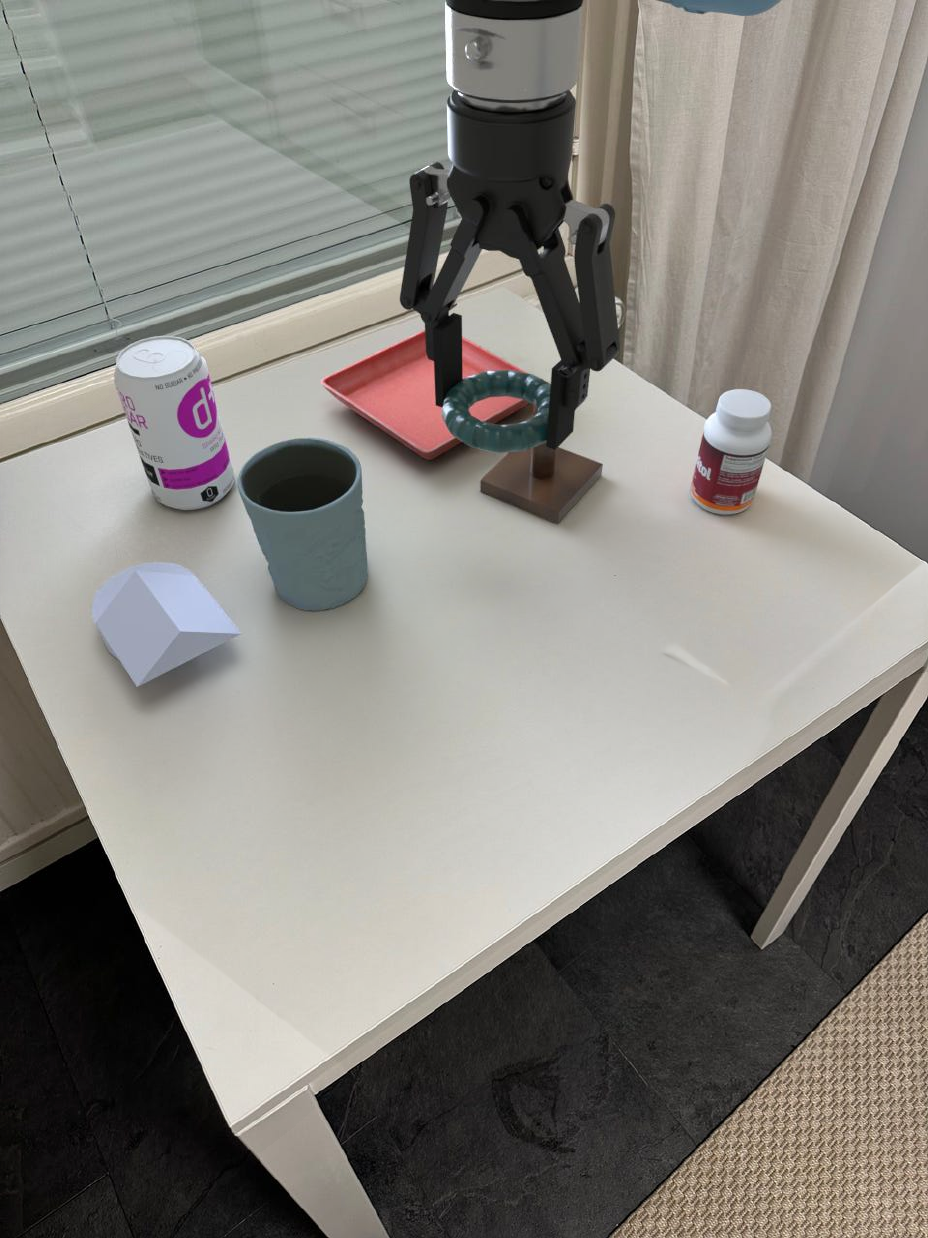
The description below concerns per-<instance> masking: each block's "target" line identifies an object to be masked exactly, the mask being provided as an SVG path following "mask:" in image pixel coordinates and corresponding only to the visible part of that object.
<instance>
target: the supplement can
mask: <svg viewBox="0 0 928 1238" xmlns="http://www.w3.org/2000/svg"><path fill="white" fill-rule="evenodd" d="M115 360H116V361H115V363H116V365H115V370H114V373H113V376H114V377H113V379H114V381H113V383H114V385H115V388H116V391H117V395H118V397H119V399H120V400H119V401H120V403H121V406H122V409H123V411H124V415H125V417H126V420H127V423H128V426H129V429H130V432H131V435H132V438H133V441H134V443H135V446H136V449H137V452H138V455H139V458H140V461H141V463H142V467H143V470H144V472H145V473H144V474H145V475H146V478H147V481H148V485H149V486H150V487H149V488H150V490H151V492H152V494H153V496H154V497H155V499H156V500H157V502H159V503H161V504H163V505H165V506H166V507H170V508H173V509H175V510H182V511H195V510H200V509H201V510H202V509H204V508H207V507H210V506H212V505H214V504H216V503H217V502H219V501H221V500H222V499H223V498H224V497H225V496H226V495H227V494H228V492H229V491H230V490H231V489H232V488H233V485H234V482H235V480H236V479H235V472H234V468H233V463H232V459H231V455H230V451H229V448H228V444H227V439H226V436H225V433H224V428H223V424H222V420H221V416H220V412H219V409H218V404H217V400H216V396H215V392H214V389H213V385H212V381H211V376H210V373H209V369H208V365H207V361H206V359H205V358H204V357H203V356H202V355H201V354H200V353H199V352H198V351H197V350H196V347H195V346H194V344H192V342H191V341H190V340H187V339H186V338H183V337H180V336H171V335H160V336H152V337H146V338H143V339H140V340H137V341H135V342H133V343H130V344H129V345H127V346H126V347H124V348H123V349H122V350H120V352H119V353H118V355H117V356H116V359H115Z"/></svg>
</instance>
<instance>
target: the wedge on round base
mask: <svg viewBox="0 0 928 1238" xmlns="http://www.w3.org/2000/svg"><path fill="white" fill-rule="evenodd" d="M90 608H91V610H90V611H91V616H92V620H93V622H94V624H95V626H96V628H97V630H98V633H99V635H100V637H101V639H102V641H103V643H104V645H105V647H106V649H107V651H108V652H109V653H110V654H111V655H112V656H113V658H116V659H117V660H119V661H120V663H121V665H122V666H123V668H124V670H125V671H126V672H127V674H128V676H129V677H130V678H131V680H132V682H133V683H134V685H135V687H136V688H139V687H140V686H142V685H144V684H146V683H148V682H150V681H152V680H154V679H156V678H158V677H159V676H162V675H163V674H165V673H168V672H169V671H171V670H173V669H175V668H177V667H179V666H181V665H183V664H185V663H187V662H189V661H191V660H193V659H195V658H197V657H198V656H201V655H203V654H205V653H206V652H209V651H211V650H212V649H215V648H216V647H219V646H220V645H222V644H225V643H226V642H228V641H230V640H232V639H234V638H236V637H238V636H240V635H242V632H241V631H240V630H239V629H238V627H237V626H236V625H235V624H234V622H233V621H232V620H231V618H230V617H229V616H228V615H227V613H226V612H225V611H224V609H223V608H222V607H221V606H220V605H219V603H218V602H217V601H216V600H215V598H214V597H213V596H212V594H210V592H209V591H208V589H207V588H206V587H205V586H204V584H202V582H201V581H200V580H199V579H198V577H197V575H195V574H194V573H193V572H192V571H191V570H189V569H188V568H186V567H185V566H183V565H180V564H176V563H173V562H166V561H154V562H145V563H141V564H136V565H133V566H129V567H128V568H126V569H123V570H121V571H119V572H118V573H116V574H113V576H112V577H110V578H109V579H107V580H106V581H105V582H104V583H103V584H102V585H101V586H100V587H99V588H98V590H97V592H96V593H95V595H94V597H93V599H92V602H91V607H90Z"/></svg>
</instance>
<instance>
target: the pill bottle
mask: <svg viewBox="0 0 928 1238" xmlns="http://www.w3.org/2000/svg"><path fill="white" fill-rule="evenodd" d="M771 412H772V403H771V401H770V400H769V399H768V397H767V396H765V395H764V394H762V393H760V392H758V391H755V390H750V389H746V388H736V389H731V390H730V389H729V390H727V391H725V392H723V393H722V394H721V395H720V396H719V399H718V402H717V405H716V407H715V411H714V412H713V413H712V414H710V416H709V417H707V419H706V421H705V422H704V427H703V429H702V435H701V438H700V444H699V448H698V451H697V452H698V453H697V458H696V462H695V466H694V471H693V476H692V480H691V485H690V494H691V498H692V499H693V501H694V502H695V503H696V504H697V505H698V506H699V507H700V508H702V509H703V510H705V511H708V512H709V513H712V514H716V515H735V514H739V513H742V512H744V511H745V510H747V509H749V507H750V506H751V505H752V503H753V501H754V499H755V496H756V491H757V489H758V485H759V483H760V482H759V481H760V478H761V476H762V471H763V468H764V464H765V461H766V458H767V454H768V450H769V448H770V444H771V440H772V436H773V434H772V433H773V431H772V426H771V425H770V423H769V419H770V416H771Z"/></svg>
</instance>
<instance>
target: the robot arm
mask: <svg viewBox="0 0 928 1238" xmlns="http://www.w3.org/2000/svg"><path fill="white" fill-rule="evenodd" d="M444 1H445V46H446V47H445V51H446V53H445V54H446V80H447V83H448V84H449V85H450V87H452V88H453V90H452V92H451V93H450V94H449V96H448V98H447V99H446V118H447V119H446V121H447V122H446V123H447V155H448V158H449V161H450V162H451V164H452V165H451V169H445V167H444V165H443V164H442V163H441V162H438V161H433V162H431V163H430V164H428V165H427V166H425V167H423V168H422V169H420V170H418V171H417V172H414V173H413V174H411V175H410V177H409V181H408V183H409V191H410V197H411V205H412V214H411V215H412V216H411V220H410V226H409V227H410V228H409V233H408V240H407V247H406V253H405V260H404V266H403V267H404V268H403V274H402V281H401V288H400V293H399V303H400V305H401V307H402V309H403V308H404V310H407V311H410V310H414V311H415V312H416V313H418V314H419V315H420V318H421V320H422V322H423V323H424V330H425V340H426V354H427V357H428V359H429V360H432V361H434V376H435V402H436V406H439V407H443V403H444V399H445V396H446V394H447V392H448V391H449V390H450V389H452V388H453V387H454V386H455V385H456V384H457V383H459V382H460V381H461V380H462V379H463V365H462V337H463V315H461V314H459V313H456V312H452V313H451V314H450V312H451V310H453V309H454V308H455V307H457V306H458V303H456V301H457V300H458V297H459V296H460V294H461V291H462V290H463V288H464V286H465V284H466V282H467V280H468V278H469V276H470V274H471V272H472V271H473V268H474V266H475V264H476V262H477V261H478V259H479V257H480V255H481V253H482V252H483V250H484V251H487V252H501V253H503V254H504V255H506V256H508V257H509V258H513V259H516V260H519V261H518V262H519V263H520V266H521V269H522V272H523V273H524V275H525V276H526V277H529V278H530V280H531V282H532V285H533V288H534V290H535V293H536V296H537V299H538V301H539V304H540V307H541V309H542V311H543V314H544V317H545V320H546V323H547V325H548V328H549V331H550V333H551V336H552V339H553V342H554V344H555V347H556V350H557V352H558V355H559V358H560V360H559V361H558V362H557V363H556V364H554V366H553V367H552V368H551V373H550V384H551V387H550V401H549V416H548V430H547V444H546V447H549V448H551V449H554V450H556V449H557V448H558V447H560V446H561V445H562V444H563V443H564V442H565V441H566V440H567V439H568V438H569V436H571V434H573V432H574V425H575V415H576V410H577V409H579V407H580V406H581V405H582V404H583V403H584V402H585V400H586V399H587V397H588V395H589V394H588V393H589V386H590V385H589V383H590V375H591V371H593V372H596V373H597V372H601V371H602V370H603V369H604V368H606V366H607V365H608V364H609V363H610V362H611V361H612V360H613V359H614V358H615V357H617V356H618V354H619V353H620V351H621V342H620V333H619V324H618V322H619V321H618V314H617V303H616V295H615V294H616V293H615V284H614V275H613V265H612V256H611V245H610V243H611V242H610V241H611V238H612V233H613V228H614V224H615V219H616V210H615V208H614V207H613V206H612V205H611V204H609V203H602V204H600V205H599V206H598V207H593V206H590V205H588V204H586V203H582V202H580V201H578V200H576V199H574V195H573V191H572V190H571V189H572V188H571V185H570V181H569V180H570V179H569V173H570V172H569V171H570V167H571V163H572V158H573V149H574V148H573V147H574V135H575V123H576V110H577V109H576V108H577V99H576V97H575V96H574V95H573V93H572V91H571V90H572V89H573V88H574V87H576V85H577V84H578V81H579V72H580V60H581V59H580V58H581V57H580V56H581V41H582V40H581V39H582V24H583V23H582V22H583V5H584V0H444ZM656 1H657V2H661V3H665V4H668V5H671V6H672V7H674V8H676V9H680V8H682V9H683V10H684V12H687V13H691V14H698V15H705V14H707V13H717V14H726V15H732V16H739V17H752V16H757V15H760V14H763V13H765V12H768V11H769V10H771V9H773V7H775V6H776V5H777V4H779V3H781V2H782V0H656ZM450 200H452V202H453V204H454V205H455V207H456V209H457V211H458V213H459V215H460V217H461V220H460V221H459V225H458V227H457V228H456V230H455V233H454V235H453V237H452V239H451V241H450V243H449V246H450V250H449V252H448V253H447V256H446V257H445V260H444V262H443V263H442V266H441V268H440V271H439V272H438V275H437V277H436V272H437V267H438V263H439V256H440V250H441V245H442V240H443V236H444V235H443V234H444V229H445V223H446V218H447V213H448V205H449V202H450ZM563 223H565V224H566V225H567V226H568V228H569V233H570V236H569V237H568V239H569V243H570V244H571V245H574V258H573V261H574V270H575V277H576V286H577V292H576V288H575V285H574V283H573V280H572V277H571V274H570V271H569V269H568V265H567V263H566V259H565V256H566V246H565V242H564V241H563V240H564V239H563V237H562V234H561V231H560V227H561V226H562V225H563ZM541 248H543V249H542V251H541V252H539V250H540V249H541ZM435 278H436V279H435ZM577 294H578V295H577Z"/></svg>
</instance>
